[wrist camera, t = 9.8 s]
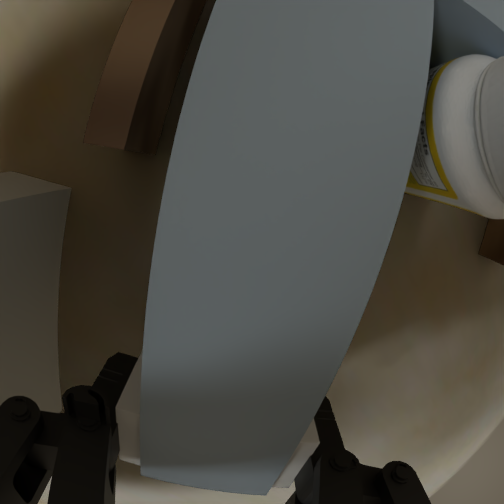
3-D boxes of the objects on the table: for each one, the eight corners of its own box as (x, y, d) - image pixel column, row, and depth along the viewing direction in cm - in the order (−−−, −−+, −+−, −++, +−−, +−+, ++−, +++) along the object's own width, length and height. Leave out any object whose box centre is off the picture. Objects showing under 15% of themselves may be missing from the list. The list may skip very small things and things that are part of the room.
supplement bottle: (459, 129, 11) (603, 134, 3) (419, 212, 12) (564, 277, 4) (382, 66, 11) (518, -3, 3) (336, 153, 12) (476, 156, 4)
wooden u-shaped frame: (493, 260, 13) (534, 280, 10) (122, 148, 11) (82, 142, 8) (521, 41, 10) (555, 32, 6) (225, -93, 8) (223, -131, 4)
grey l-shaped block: (394, 385, 15) (445, 476, 8) (176, 354, 14) (140, 475, 7) (489, 88, 10) (591, 77, 4) (261, -12, 9) (276, -125, 2)
